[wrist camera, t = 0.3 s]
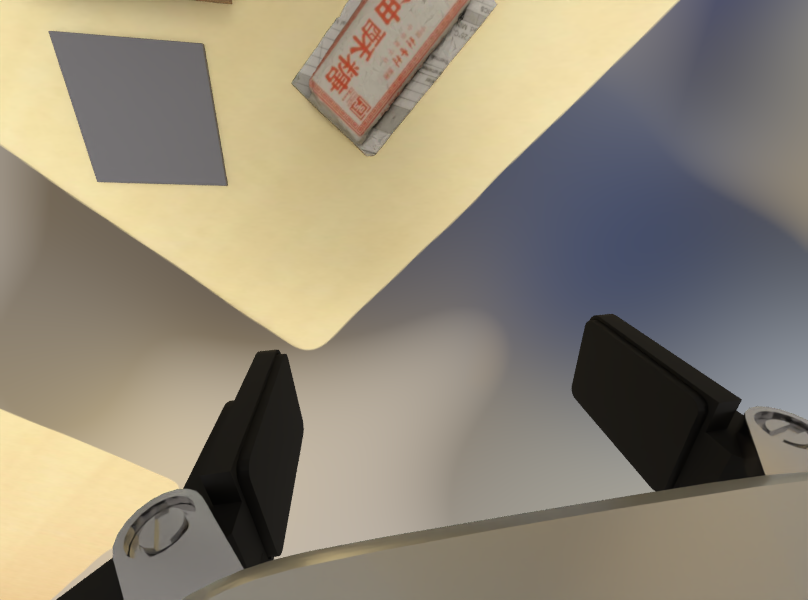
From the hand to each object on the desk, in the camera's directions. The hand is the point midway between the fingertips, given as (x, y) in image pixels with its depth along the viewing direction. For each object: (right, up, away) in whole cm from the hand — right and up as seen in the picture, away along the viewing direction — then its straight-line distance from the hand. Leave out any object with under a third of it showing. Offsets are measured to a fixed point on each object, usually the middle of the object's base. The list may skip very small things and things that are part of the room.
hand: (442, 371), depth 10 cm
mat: (-25, +20, +21) cm, 38 cm away
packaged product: (-2, +27, +22) cm, 35 cm away
